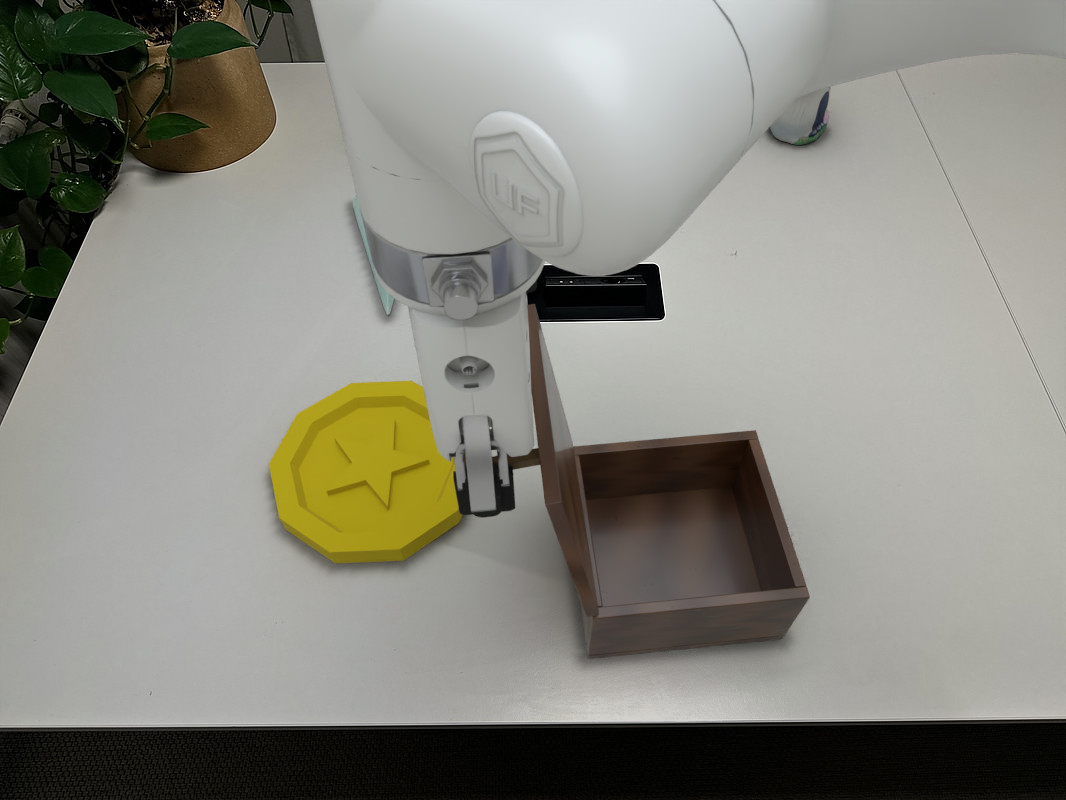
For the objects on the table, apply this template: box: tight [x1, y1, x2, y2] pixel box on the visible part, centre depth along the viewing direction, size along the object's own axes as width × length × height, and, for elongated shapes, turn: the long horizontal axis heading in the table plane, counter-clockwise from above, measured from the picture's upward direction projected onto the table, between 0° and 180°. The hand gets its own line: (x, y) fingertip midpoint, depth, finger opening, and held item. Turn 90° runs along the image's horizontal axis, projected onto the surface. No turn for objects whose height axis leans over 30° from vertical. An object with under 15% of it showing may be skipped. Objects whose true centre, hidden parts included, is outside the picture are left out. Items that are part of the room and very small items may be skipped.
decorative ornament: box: [769, 87, 831, 147], centre depth 91 cm, size 9×6×15 cm
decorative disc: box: [268, 380, 463, 565], centre depth 67 cm, size 17×18×2 cm
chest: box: [573, 429, 811, 660], centre depth 59 cm, size 15×14×8 cm
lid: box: [465, 303, 599, 617], centre depth 49 cm, size 16×14×6 cm
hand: (483, 457), depth 47 cm, fingers closed on lid, 6 cm apart
